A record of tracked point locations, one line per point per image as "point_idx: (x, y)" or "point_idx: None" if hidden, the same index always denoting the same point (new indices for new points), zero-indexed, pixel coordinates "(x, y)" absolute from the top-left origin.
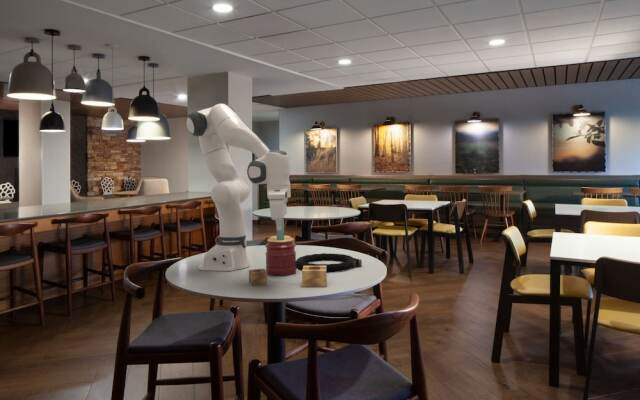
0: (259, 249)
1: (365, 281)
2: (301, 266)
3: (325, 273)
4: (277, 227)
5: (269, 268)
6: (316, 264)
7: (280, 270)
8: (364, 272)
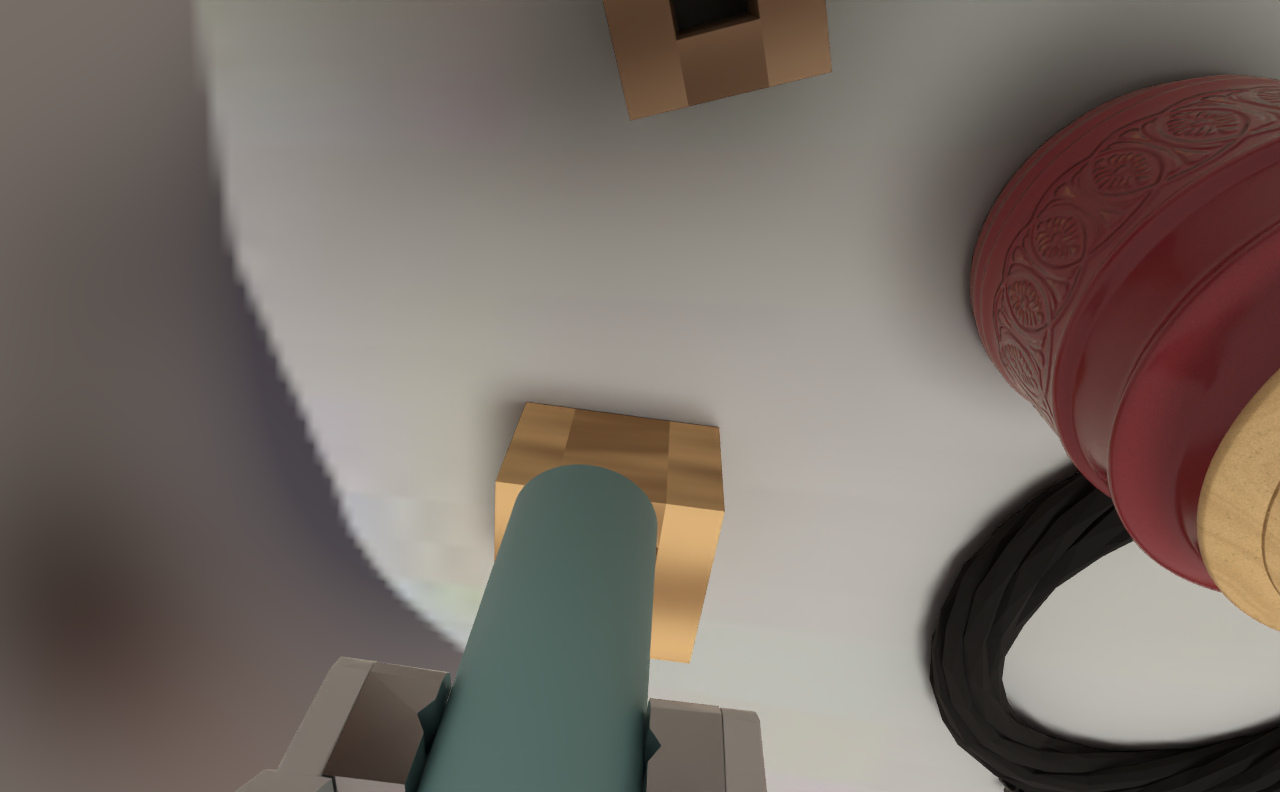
0: None
1: None
2: None
3: None
4: (310, 727)
5: (1106, 133)
6: (1025, 590)
7: (987, 261)
8: (849, 771)
